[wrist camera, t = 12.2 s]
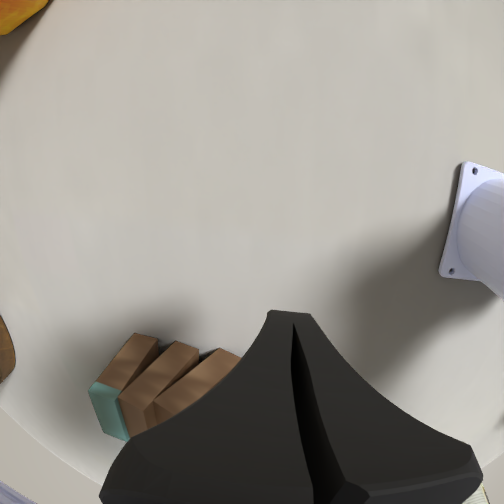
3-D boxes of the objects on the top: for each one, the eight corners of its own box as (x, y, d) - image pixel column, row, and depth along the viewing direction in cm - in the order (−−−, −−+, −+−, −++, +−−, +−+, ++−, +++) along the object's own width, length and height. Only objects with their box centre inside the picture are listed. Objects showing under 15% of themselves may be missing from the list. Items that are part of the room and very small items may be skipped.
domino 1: (157, 338, 22) (114, 400, 16) (161, 381, 24) (127, 442, 17) (134, 332, 22) (87, 390, 16) (140, 375, 24) (103, 432, 18)
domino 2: (198, 349, 22) (143, 410, 16) (199, 391, 23) (152, 450, 17) (175, 340, 22) (117, 396, 16) (178, 383, 24) (129, 438, 18)
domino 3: (242, 358, 21) (177, 417, 16) (238, 400, 23) (182, 456, 17) (219, 347, 22) (152, 400, 16) (217, 390, 24) (160, 441, 18)
